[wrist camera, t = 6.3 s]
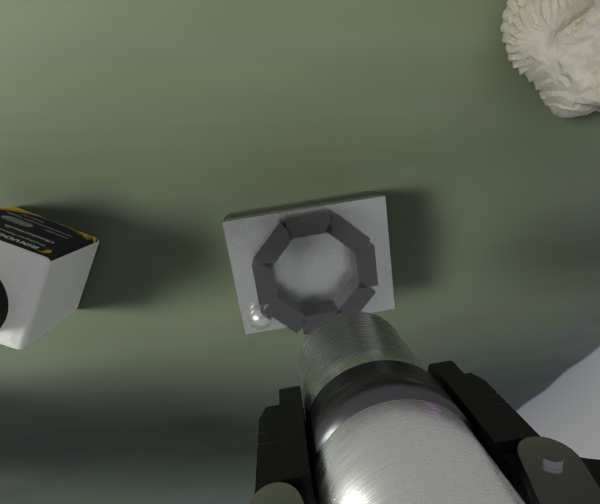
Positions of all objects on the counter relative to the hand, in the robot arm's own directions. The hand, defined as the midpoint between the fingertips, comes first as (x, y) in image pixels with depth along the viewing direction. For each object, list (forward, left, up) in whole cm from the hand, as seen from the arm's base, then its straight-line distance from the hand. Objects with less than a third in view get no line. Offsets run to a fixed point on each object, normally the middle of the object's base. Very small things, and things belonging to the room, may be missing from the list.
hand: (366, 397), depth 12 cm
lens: (0, 0, -2) cm, 2 cm away
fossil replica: (+22, +13, -20) cm, 33 cm away
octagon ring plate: (0, 0, -20) cm, 20 cm away
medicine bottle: (-22, +3, -20) cm, 30 cm away
